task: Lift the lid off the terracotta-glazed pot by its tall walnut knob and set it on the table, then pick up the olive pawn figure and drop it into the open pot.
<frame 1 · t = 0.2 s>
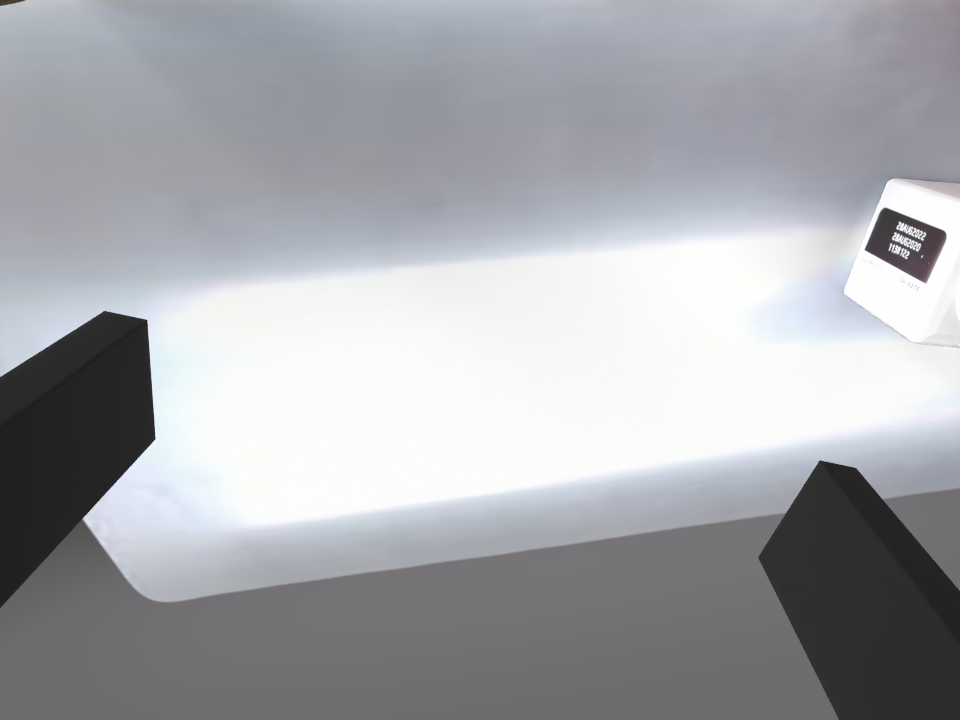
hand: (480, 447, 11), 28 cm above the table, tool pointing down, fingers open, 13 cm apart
container: (919, 242, 37), on the table
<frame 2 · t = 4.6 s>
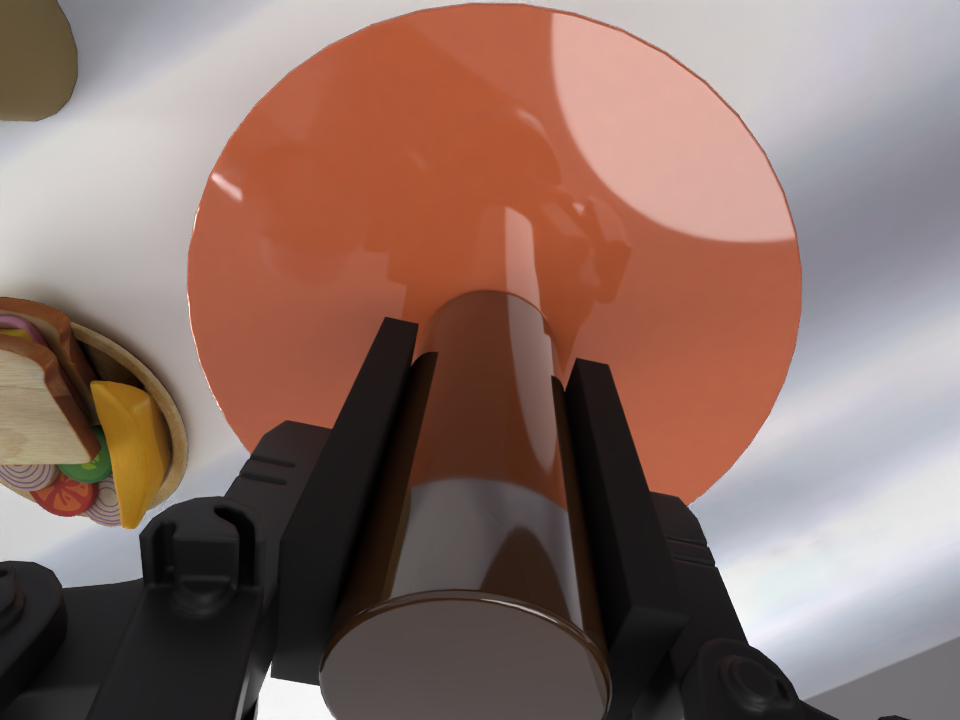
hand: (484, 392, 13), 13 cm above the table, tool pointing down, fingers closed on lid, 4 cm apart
lid: (488, 344, 15), point 11 cm above the table, touching gripper, pot
toy sandwich meal: (70, 402, 30), on the table
olive pawn figure: (1, 37, 22), on the table
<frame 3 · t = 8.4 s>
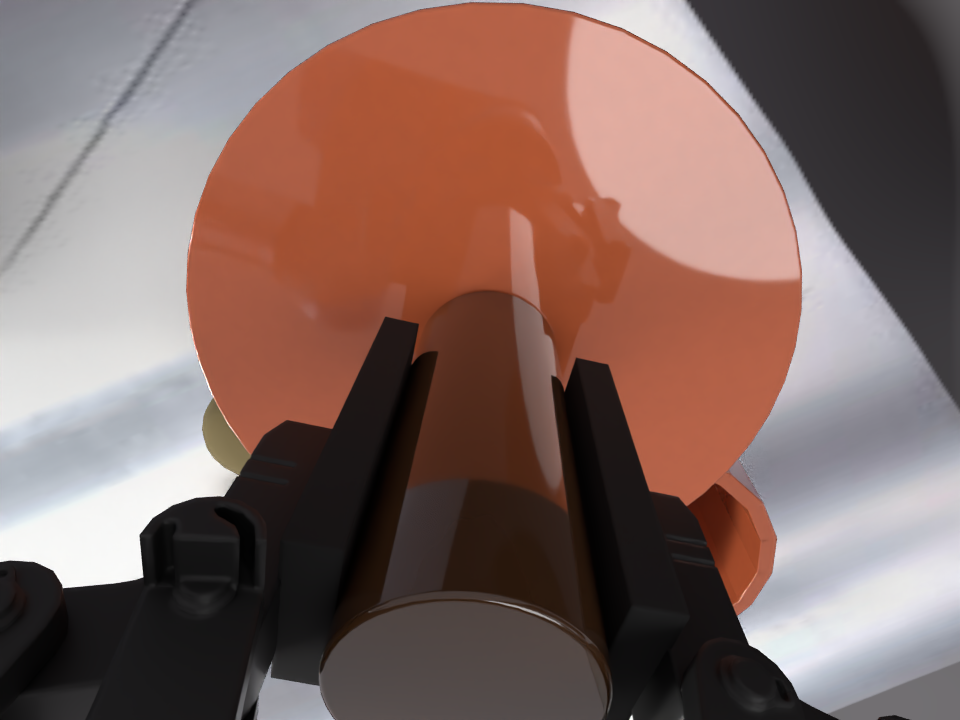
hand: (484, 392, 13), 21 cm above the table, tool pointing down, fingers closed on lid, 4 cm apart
lid: (488, 344, 15), point 19 cm above the table, touching gripper
pot: (602, 446, 40), on the table
olive pawn figure: (315, 343, 37), on the table
when the fingers open (3 cm above the table, at t = 12.4 s): lid stays where it is, point 1 cm above the table.
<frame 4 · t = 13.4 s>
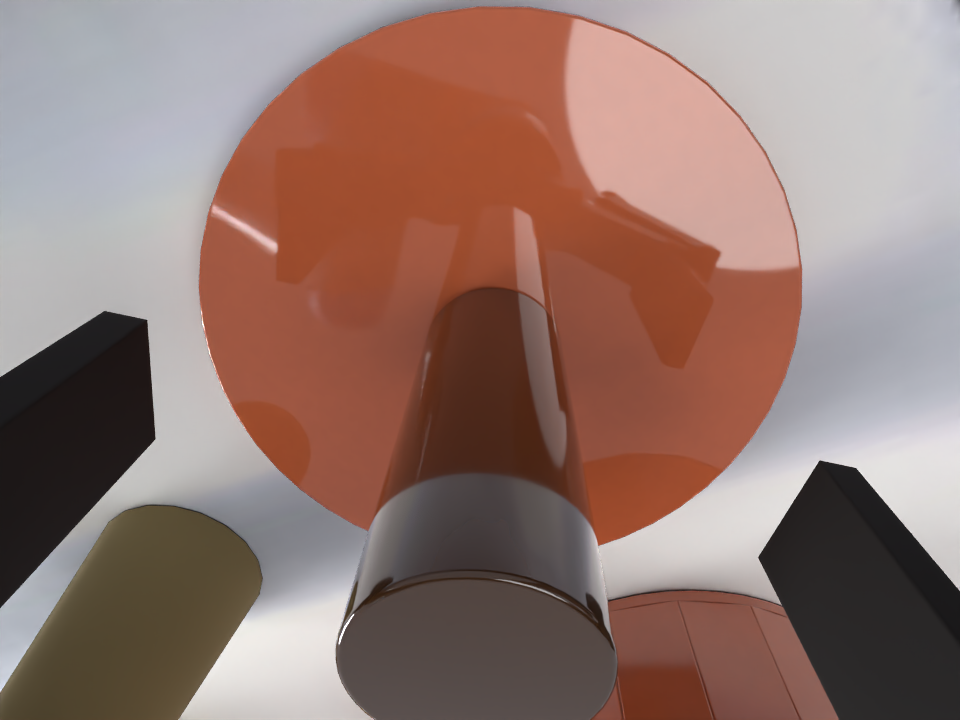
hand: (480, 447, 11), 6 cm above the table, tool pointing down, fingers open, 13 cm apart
lid: (493, 340, 16), point 1 cm above the table
pot: (669, 709, 24), on the table
olive pawn figure: (184, 562, 21), on the table
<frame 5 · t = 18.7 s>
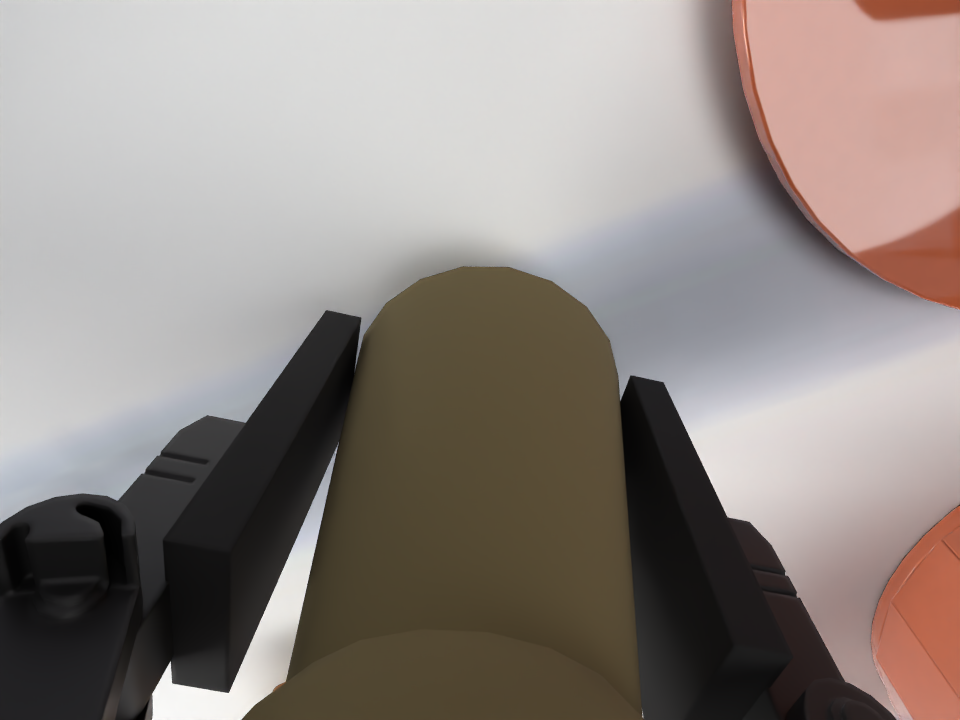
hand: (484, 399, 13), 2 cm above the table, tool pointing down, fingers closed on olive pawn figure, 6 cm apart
olive pawn figure: (485, 386, 13), point 2 cm above the table, touching gripper
when the fingers open (7 cm above the table, at t = 24.6 s): olive pawn figure drops 6 cm, resting on pot.
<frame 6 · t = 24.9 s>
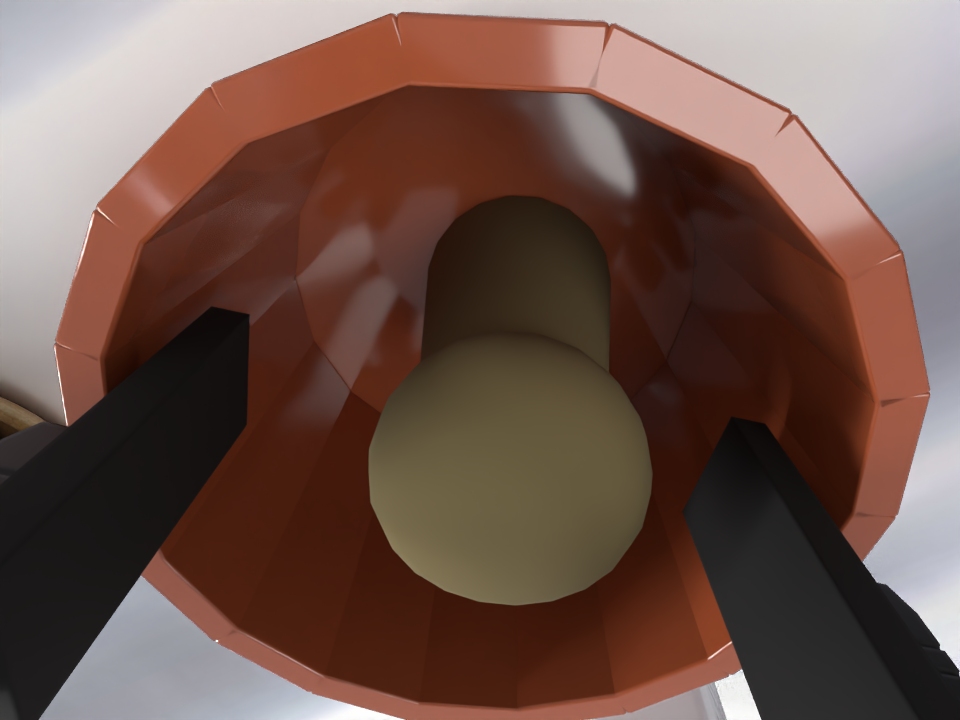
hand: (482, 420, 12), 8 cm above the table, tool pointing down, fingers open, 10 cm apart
pot: (492, 284, 19), on the table
olive pawn figure: (517, 286, 19), resting on pot
container: (602, 620, 27), on the table
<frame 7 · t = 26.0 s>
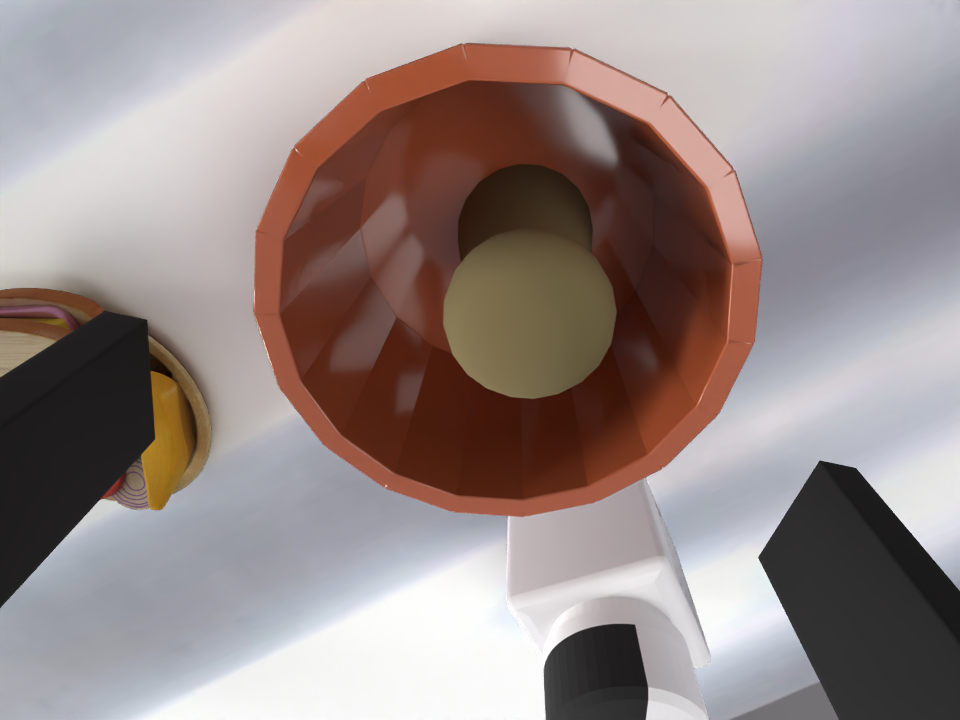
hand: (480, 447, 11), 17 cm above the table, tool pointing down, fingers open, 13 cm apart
pot: (505, 233, 26), on the table
toy sandwich meal: (100, 390, 32), on the table
olive pawn figure: (524, 232, 26), resting on pot
container: (591, 518, 34), on the table
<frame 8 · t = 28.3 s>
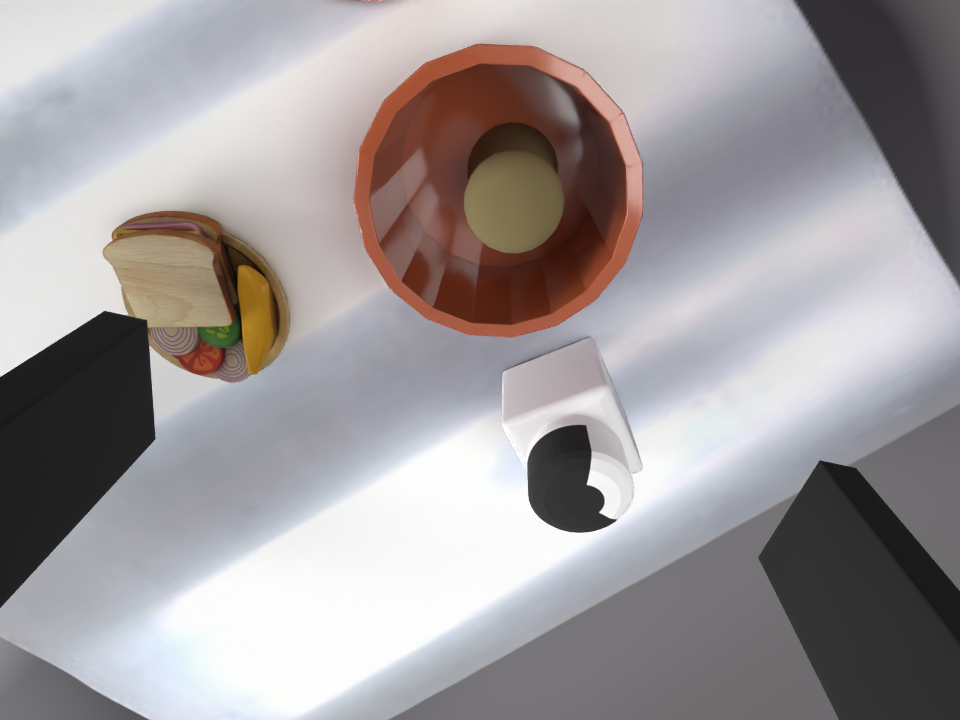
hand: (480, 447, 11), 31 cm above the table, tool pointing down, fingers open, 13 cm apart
pot: (500, 171, 38), on the table
toy sandwich meal: (207, 293, 44), on the table
olive pawn figure: (512, 170, 38), resting on pot
container: (563, 389, 46), on the table
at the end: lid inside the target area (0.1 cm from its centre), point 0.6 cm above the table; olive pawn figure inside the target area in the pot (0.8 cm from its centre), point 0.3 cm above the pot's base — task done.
